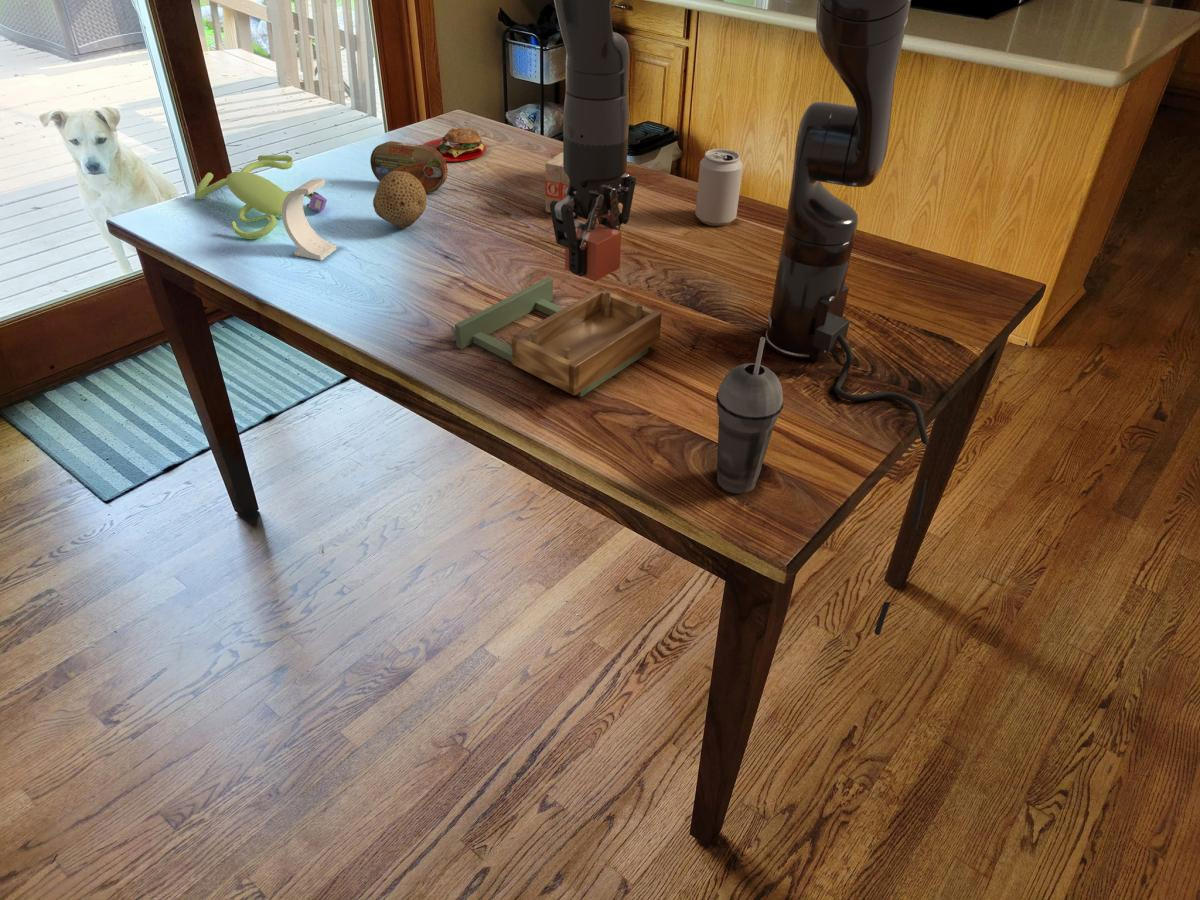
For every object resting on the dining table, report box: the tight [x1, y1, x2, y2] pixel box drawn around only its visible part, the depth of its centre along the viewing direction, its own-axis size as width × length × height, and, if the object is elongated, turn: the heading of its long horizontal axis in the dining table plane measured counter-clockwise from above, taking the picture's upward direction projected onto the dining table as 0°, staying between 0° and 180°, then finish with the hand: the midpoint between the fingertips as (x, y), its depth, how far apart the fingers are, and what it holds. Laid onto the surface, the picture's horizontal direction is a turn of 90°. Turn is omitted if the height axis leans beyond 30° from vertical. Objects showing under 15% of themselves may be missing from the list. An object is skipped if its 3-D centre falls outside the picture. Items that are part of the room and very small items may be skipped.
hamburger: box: [422, 127, 487, 162], centre depth 181 cm, size 14×14×6 cm
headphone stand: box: [281, 178, 338, 261], centre depth 141 cm, size 5×6×12 cm
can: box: [694, 148, 744, 227], centre depth 155 cm, size 8×8×12 cm
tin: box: [369, 140, 448, 194], centre depth 164 cm, size 15×3×8 cm, turn 73°
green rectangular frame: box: [454, 276, 649, 398], centre depth 122 cm, size 21×19×4 cm
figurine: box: [194, 154, 328, 240], centre depth 156 cm, size 18×27×6 cm
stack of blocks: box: [544, 151, 570, 214], centre depth 162 cm, size 21×6×12 cm, turn 154°
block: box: [564, 222, 622, 282], centre depth 110 cm, size 5×5×5 cm
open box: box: [510, 287, 663, 396], centre depth 118 cm, size 11×18×5 cm, turn 140°
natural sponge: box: [372, 171, 427, 229], centre depth 149 cm, size 9×9×10 cm
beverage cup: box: [715, 336, 784, 494], centre depth 95 cm, size 7×7×20 cm
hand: (592, 265), depth 111 cm, fingers closed on block, 5 cm apart
